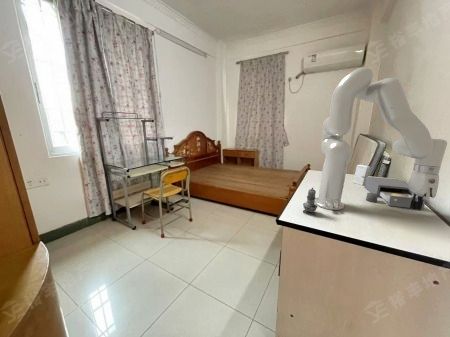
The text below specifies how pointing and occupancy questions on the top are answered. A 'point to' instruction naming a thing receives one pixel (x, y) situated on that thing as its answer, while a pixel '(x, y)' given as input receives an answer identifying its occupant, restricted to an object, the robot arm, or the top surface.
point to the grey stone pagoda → (310, 203)
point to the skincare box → (361, 174)
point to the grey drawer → (398, 199)
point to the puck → (371, 197)
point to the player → (385, 185)
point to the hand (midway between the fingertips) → (415, 208)
